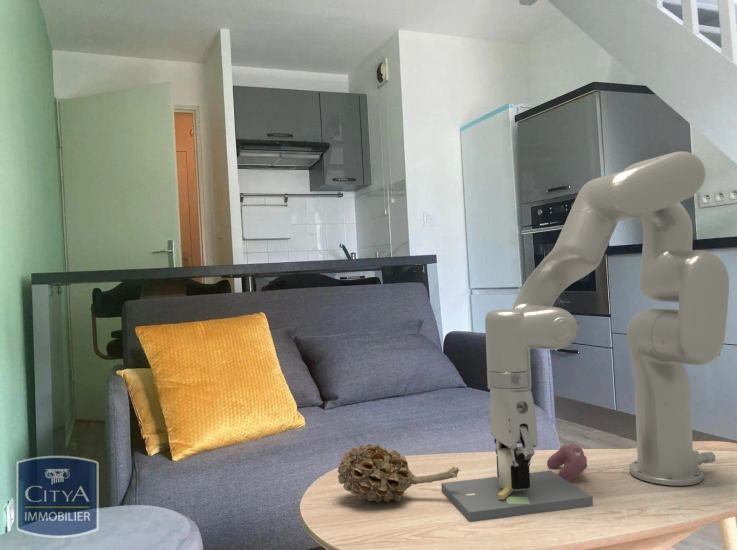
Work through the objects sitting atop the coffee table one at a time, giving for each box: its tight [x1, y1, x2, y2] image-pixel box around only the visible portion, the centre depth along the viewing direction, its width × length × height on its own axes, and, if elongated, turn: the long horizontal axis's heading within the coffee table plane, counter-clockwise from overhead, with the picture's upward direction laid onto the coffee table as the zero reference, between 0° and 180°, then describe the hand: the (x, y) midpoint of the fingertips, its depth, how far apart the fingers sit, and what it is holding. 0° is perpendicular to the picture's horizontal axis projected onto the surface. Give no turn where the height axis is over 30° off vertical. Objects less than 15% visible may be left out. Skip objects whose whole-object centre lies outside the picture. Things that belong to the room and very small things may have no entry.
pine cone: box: [337, 443, 462, 503], centre depth 105 cm, size 22×10×10 cm, turn 89°
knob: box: [497, 448, 527, 499], centre depth 102 cm, size 8×5×7 cm, turn 145°
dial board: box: [440, 470, 594, 522], centre depth 103 cm, size 22×14×2 cm, turn 101°
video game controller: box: [546, 442, 588, 483], centre depth 114 cm, size 10×5×7 cm, turn 176°
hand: (513, 481), depth 103 cm, fingers closed on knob, 5 cm apart
